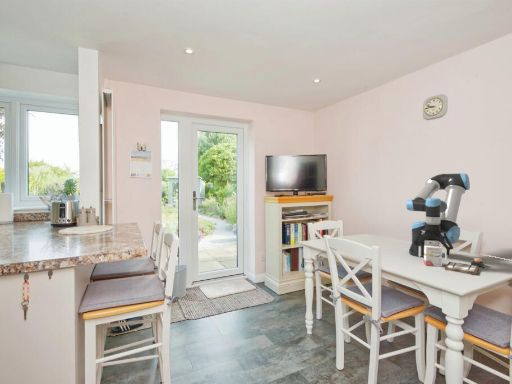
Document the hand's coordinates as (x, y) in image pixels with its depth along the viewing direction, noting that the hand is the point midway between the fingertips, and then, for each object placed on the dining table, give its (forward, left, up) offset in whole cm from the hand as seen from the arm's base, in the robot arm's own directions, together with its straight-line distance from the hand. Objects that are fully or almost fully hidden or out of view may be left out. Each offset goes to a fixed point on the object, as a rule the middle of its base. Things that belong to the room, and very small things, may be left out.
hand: (432, 258), depth 162 cm
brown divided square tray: (+14, +2, -4) cm, 15 cm away
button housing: (+20, +16, -4) cm, 26 cm away
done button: (+20, +16, -2) cm, 26 cm away
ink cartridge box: (0, 0, -5) cm, 5 cm away
